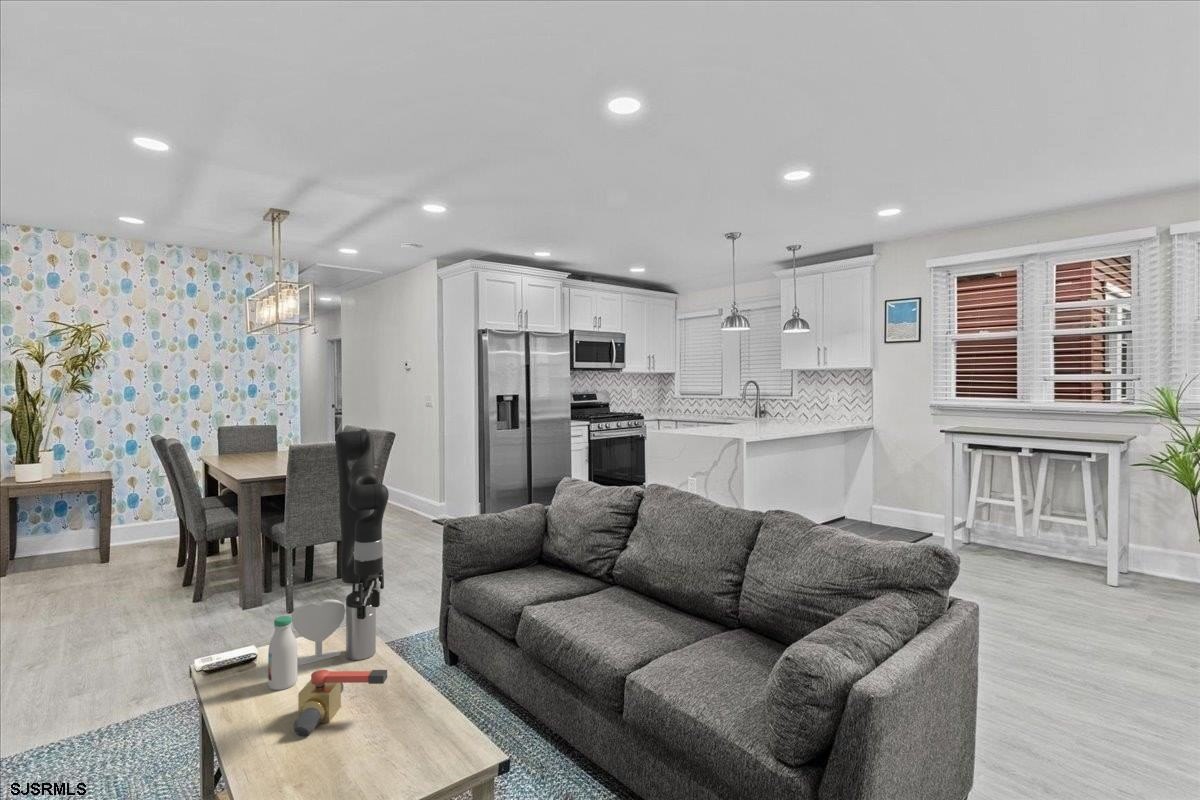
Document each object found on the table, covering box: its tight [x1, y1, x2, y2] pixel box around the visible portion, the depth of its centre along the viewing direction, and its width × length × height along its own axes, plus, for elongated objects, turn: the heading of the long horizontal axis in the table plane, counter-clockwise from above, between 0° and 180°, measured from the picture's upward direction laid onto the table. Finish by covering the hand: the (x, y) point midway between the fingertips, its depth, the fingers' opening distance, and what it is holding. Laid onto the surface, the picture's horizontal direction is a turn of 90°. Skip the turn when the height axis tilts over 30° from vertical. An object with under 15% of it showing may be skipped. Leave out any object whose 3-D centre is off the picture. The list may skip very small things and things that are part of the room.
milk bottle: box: [267, 615, 298, 691], centre depth 181 cm, size 8×8×20 cm
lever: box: [310, 669, 388, 685], centre depth 165 cm, size 20×4×2 cm, turn 92°
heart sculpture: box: [291, 599, 346, 666], centre depth 199 cm, size 16×5×18 cm, turn 128°
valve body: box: [293, 679, 345, 737], centre depth 165 cm, size 20×8×9 cm, turn 2°
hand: (368, 612), depth 170 cm, fingers open, 8 cm apart
